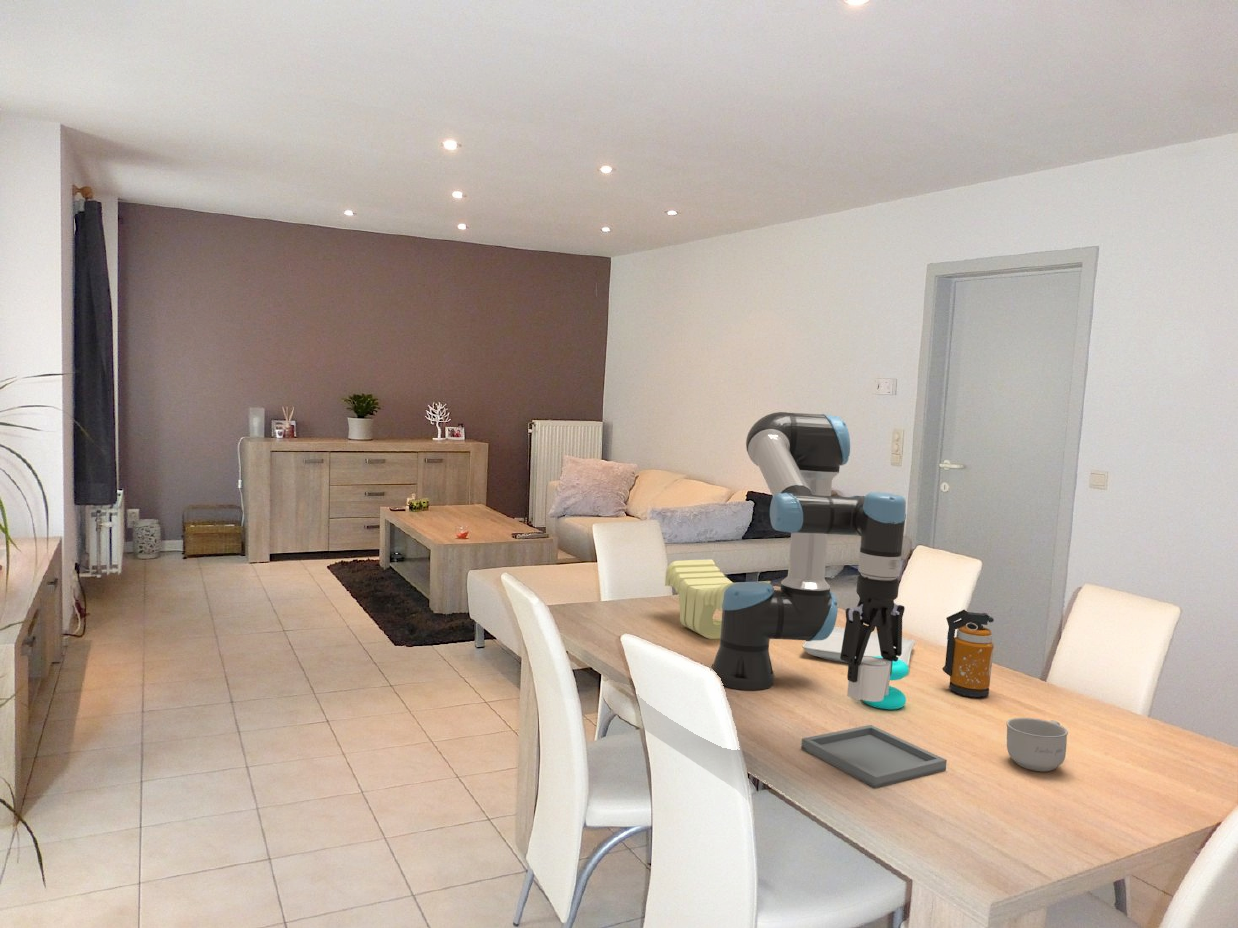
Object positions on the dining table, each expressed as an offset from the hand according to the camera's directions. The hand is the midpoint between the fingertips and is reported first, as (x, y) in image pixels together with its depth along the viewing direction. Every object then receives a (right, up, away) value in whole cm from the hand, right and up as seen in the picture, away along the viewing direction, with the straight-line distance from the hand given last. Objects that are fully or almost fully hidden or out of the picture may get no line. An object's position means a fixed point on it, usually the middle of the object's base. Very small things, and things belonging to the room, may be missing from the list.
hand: (867, 695), depth 171 cm
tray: (+2, -13, +3) cm, 13 cm away
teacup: (+35, -15, +6) cm, 38 cm away
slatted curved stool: (-20, -5, +88) cm, 91 cm away
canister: (+36, -12, +47) cm, 61 cm away
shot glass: (0, 0, 0) cm, 0 cm away
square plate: (+18, -9, +75) cm, 78 cm away
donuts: (+13, -11, +35) cm, 39 cm away
